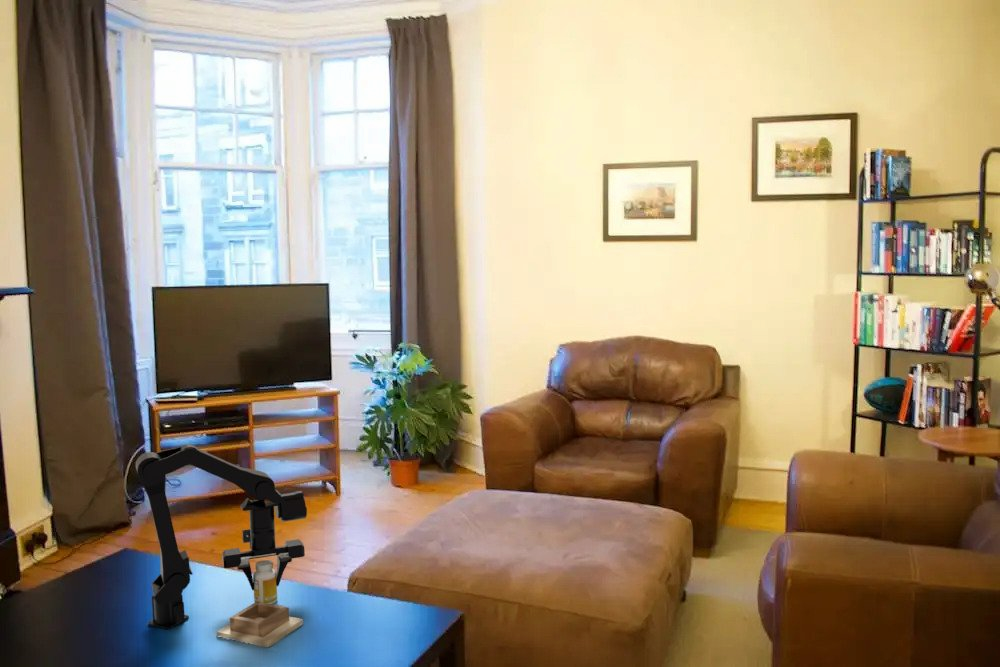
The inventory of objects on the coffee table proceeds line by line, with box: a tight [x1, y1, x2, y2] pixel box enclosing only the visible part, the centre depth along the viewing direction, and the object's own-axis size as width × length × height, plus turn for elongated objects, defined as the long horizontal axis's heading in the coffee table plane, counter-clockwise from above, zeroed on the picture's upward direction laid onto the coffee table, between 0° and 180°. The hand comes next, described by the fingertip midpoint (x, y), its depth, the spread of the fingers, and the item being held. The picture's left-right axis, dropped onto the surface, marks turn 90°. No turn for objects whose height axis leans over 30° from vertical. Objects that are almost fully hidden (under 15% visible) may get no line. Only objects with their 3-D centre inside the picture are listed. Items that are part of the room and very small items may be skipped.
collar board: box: [216, 602, 304, 648], centre depth 180 cm, size 14×12×4 cm
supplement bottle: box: [252, 559, 278, 605], centre depth 195 cm, size 5×5×10 cm
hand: (265, 587), depth 195 cm, fingers closed on supplement bottle, 5 cm apart
